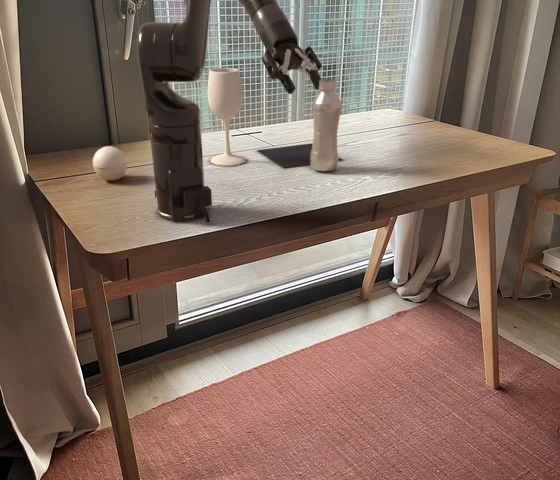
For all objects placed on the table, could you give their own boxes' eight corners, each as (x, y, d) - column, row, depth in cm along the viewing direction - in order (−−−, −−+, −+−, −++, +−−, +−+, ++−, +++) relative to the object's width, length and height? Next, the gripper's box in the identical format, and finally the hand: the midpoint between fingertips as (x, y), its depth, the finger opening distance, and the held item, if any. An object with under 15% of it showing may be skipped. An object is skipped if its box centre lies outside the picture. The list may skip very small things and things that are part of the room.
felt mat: (342, 160, 141) (342, 159, 141) (283, 168, 135) (283, 167, 135) (311, 144, 154) (311, 143, 153) (257, 151, 148) (257, 150, 148)
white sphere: (122, 172, 132) (118, 140, 128) (133, 181, 126) (129, 148, 123) (79, 179, 127) (73, 147, 123) (89, 189, 122) (83, 155, 118)
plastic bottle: (309, 165, 137) (312, 77, 127) (338, 166, 137) (343, 78, 127) (308, 173, 132) (311, 82, 122) (337, 174, 131) (343, 83, 121)
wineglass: (240, 167, 136) (237, 73, 125) (205, 164, 137) (200, 72, 127) (249, 157, 143) (247, 67, 132) (216, 154, 145) (211, 66, 134)
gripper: (257, 20, 125) (291, 82, 123) (305, 17, 133) (337, 75, 131) (243, 44, 131) (275, 103, 129) (290, 40, 139) (320, 96, 137)
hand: (306, 89), depth 130 cm, fingers open, 8 cm apart
